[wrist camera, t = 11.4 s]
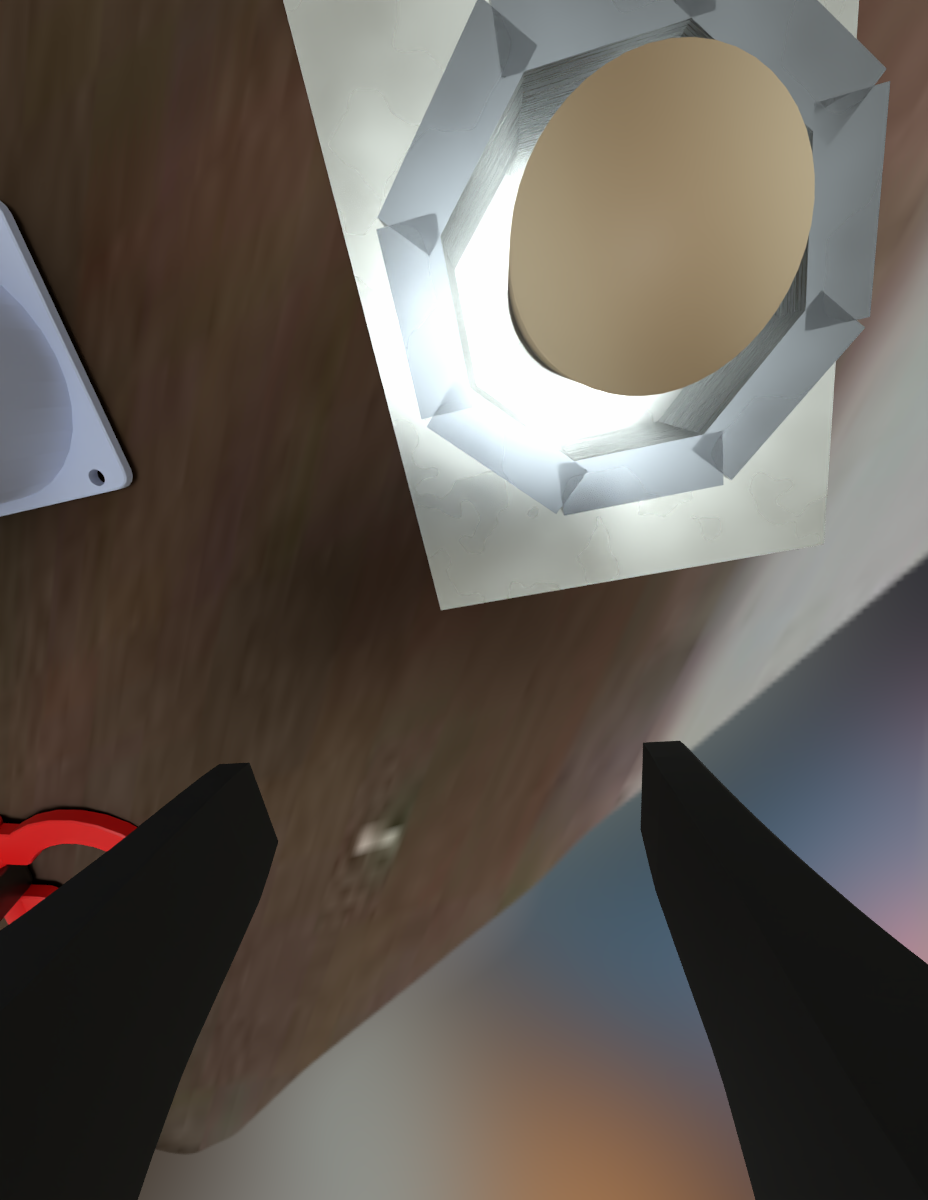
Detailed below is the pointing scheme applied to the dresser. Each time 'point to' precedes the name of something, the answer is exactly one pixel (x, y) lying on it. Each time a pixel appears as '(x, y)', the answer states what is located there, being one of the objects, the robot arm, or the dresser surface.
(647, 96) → the tan peg
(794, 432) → the rosette socket
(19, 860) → the tow hook
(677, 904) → the robot arm
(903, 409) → the dresser surface
